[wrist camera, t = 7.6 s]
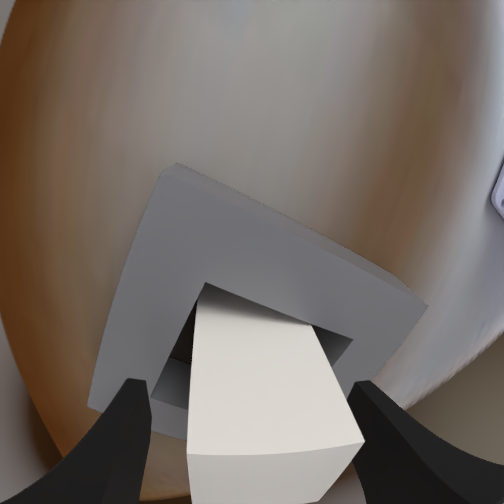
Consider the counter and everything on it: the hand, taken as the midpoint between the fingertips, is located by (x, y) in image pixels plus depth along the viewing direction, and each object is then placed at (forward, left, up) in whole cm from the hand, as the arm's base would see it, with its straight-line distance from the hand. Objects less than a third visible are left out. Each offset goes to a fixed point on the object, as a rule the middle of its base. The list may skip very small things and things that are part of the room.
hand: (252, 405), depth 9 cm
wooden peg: (0, 0, -5) cm, 5 cm away
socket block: (0, 0, -5) cm, 5 cm away
